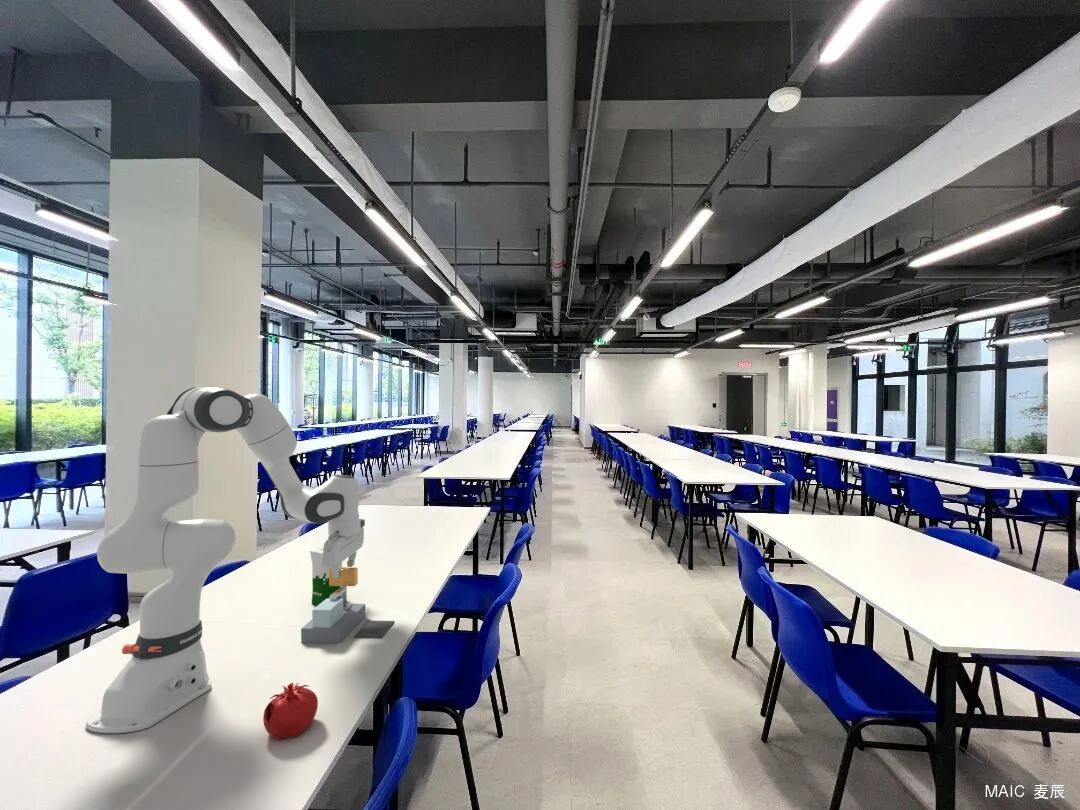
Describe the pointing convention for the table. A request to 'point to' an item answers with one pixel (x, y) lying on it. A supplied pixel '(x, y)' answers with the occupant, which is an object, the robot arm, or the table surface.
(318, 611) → the pale blue block
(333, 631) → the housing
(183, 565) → the robot arm
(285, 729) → the pomegranate
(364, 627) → the mat
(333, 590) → the milk carton
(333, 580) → the key
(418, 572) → the table surface
